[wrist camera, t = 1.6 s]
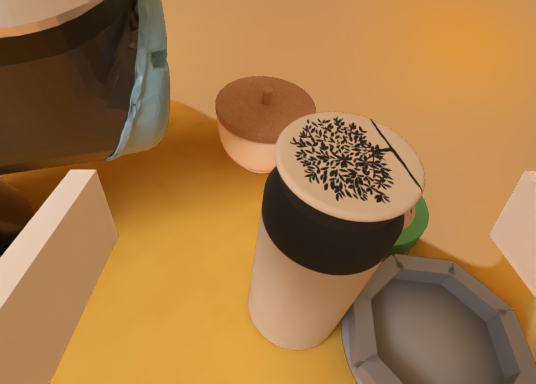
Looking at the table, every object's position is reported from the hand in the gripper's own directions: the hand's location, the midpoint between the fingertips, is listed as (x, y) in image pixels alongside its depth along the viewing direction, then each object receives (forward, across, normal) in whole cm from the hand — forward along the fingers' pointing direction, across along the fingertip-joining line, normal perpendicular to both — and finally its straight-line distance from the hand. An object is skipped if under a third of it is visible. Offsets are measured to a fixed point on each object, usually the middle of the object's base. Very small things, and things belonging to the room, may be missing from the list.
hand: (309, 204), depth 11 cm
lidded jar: (+28, -2, -15) cm, 32 cm away
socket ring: (+7, +13, -21) cm, 25 cm away
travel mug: (+10, +1, -20) cm, 22 cm away
